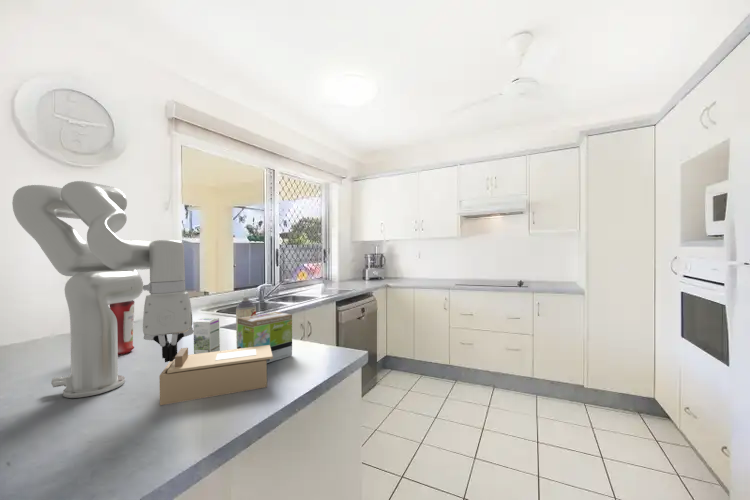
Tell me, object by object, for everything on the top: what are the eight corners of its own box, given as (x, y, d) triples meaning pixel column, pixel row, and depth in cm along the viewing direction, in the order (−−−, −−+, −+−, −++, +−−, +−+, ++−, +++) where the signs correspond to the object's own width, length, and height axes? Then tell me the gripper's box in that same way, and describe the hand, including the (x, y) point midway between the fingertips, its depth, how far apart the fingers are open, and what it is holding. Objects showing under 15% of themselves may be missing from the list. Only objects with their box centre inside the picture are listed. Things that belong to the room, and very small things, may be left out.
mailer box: (159, 405, 75) (159, 375, 75) (171, 386, 86) (170, 360, 86) (266, 387, 84) (266, 360, 84) (264, 371, 95) (264, 348, 95)
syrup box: (220, 360, 106) (220, 317, 107) (210, 366, 100) (209, 321, 101) (204, 360, 107) (204, 317, 107) (193, 366, 101) (192, 321, 101)
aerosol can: (255, 353, 113) (254, 297, 113) (234, 355, 111) (233, 298, 112) (258, 348, 120) (257, 295, 120) (238, 349, 118) (237, 296, 118)
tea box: (254, 369, 98) (253, 321, 98) (236, 362, 104) (236, 317, 104) (293, 355, 110) (292, 313, 110) (275, 351, 116) (275, 310, 116)
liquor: (115, 351, 120) (114, 277, 121) (138, 348, 123) (137, 276, 123) (105, 356, 113) (105, 278, 114) (130, 354, 116) (129, 278, 116)
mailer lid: (167, 373, 75) (167, 360, 75) (177, 358, 86) (177, 347, 86) (272, 358, 84) (272, 346, 84) (269, 346, 95) (269, 336, 95)
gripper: (127, 291, 75) (129, 370, 74) (199, 287, 80) (201, 360, 80) (137, 289, 82) (139, 360, 81) (203, 285, 87) (205, 352, 87)
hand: (170, 360), depth 80 cm, fingers closed
